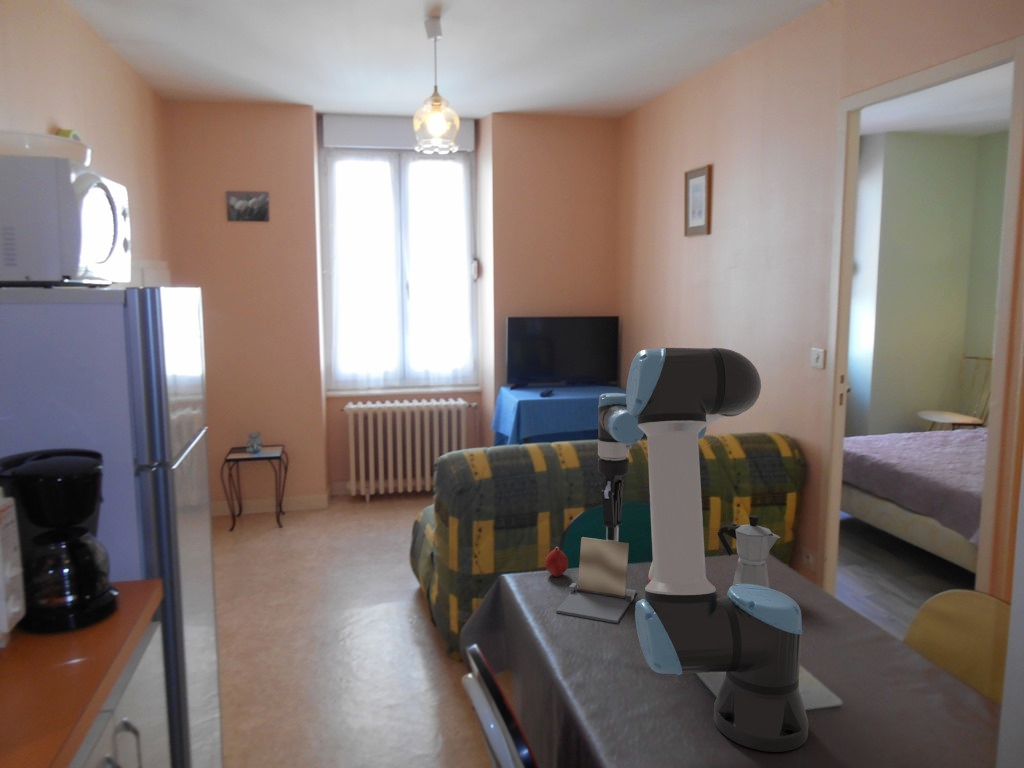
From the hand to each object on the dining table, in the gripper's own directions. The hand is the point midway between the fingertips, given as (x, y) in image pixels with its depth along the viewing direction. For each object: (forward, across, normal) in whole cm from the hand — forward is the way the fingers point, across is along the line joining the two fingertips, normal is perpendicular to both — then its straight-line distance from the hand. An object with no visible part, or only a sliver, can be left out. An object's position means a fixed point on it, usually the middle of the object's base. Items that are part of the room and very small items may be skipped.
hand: (612, 551), depth 176 cm
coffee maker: (+9, +11, -31) cm, 34 cm away
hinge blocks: (+8, -9, 0) cm, 12 cm away
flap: (+7, -9, 0) cm, 12 cm away
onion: (+9, -1, +14) cm, 16 cm away
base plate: (+8, -12, 0) cm, 15 cm away
